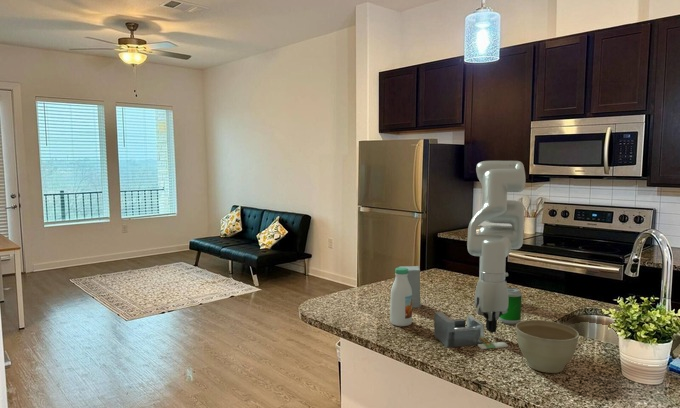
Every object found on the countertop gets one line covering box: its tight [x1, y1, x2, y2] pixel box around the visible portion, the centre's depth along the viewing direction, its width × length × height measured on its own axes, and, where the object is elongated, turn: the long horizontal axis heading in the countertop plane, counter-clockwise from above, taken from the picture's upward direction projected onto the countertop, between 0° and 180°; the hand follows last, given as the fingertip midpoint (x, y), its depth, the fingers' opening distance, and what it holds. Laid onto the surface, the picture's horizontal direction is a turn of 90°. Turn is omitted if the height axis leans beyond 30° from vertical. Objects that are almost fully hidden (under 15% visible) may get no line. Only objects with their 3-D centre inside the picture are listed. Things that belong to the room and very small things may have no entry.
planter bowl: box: [515, 319, 580, 374], centre depth 129 cm, size 16×16×11 cm
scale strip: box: [477, 341, 509, 350], centre depth 144 cm, size 9×2×1 cm, turn 102°
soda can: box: [498, 286, 523, 325], centre depth 166 cm, size 8×8×12 cm
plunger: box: [455, 314, 491, 345], centre depth 147 cm, size 9×13×6 cm
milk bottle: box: [389, 266, 413, 327], centre depth 164 cm, size 8×8×20 cm
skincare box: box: [398, 265, 421, 309], centre depth 184 cm, size 8×7×16 cm
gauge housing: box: [433, 311, 479, 348], centre depth 148 cm, size 10×10×8 cm
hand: (491, 331), depth 151 cm, fingers closed
